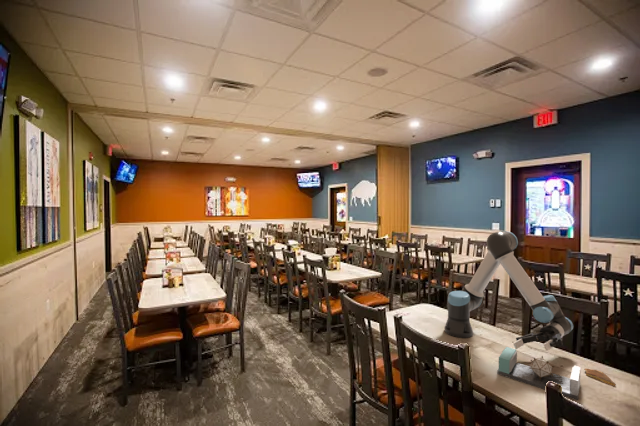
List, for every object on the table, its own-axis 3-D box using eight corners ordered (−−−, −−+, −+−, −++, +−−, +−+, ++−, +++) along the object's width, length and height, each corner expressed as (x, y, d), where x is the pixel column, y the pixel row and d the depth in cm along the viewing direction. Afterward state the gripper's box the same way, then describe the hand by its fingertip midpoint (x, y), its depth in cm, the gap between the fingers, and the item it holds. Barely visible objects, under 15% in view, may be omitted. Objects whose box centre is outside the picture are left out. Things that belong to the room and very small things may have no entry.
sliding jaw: (506, 359, 147) (506, 346, 147) (517, 362, 144) (517, 349, 144) (498, 370, 137) (498, 357, 137) (510, 374, 134) (510, 360, 134)
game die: (546, 387, 131) (562, 376, 125) (525, 378, 133) (540, 366, 127) (542, 368, 138) (556, 356, 132) (522, 359, 140) (536, 347, 134)
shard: (616, 388, 128) (616, 383, 128) (593, 384, 130) (593, 380, 130) (602, 374, 138) (602, 370, 138) (581, 371, 140) (581, 367, 140)
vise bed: (504, 362, 148) (505, 346, 148) (580, 384, 129) (580, 367, 129) (497, 373, 138) (497, 357, 137) (577, 400, 119) (578, 380, 119)
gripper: (584, 341, 141) (563, 357, 131) (528, 339, 162) (506, 353, 151) (577, 324, 143) (556, 339, 132) (523, 325, 164) (500, 337, 153)
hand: (529, 346), depth 142 cm, fingers open, 13 cm apart
